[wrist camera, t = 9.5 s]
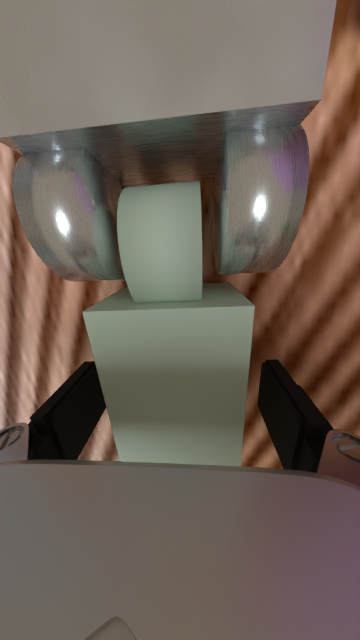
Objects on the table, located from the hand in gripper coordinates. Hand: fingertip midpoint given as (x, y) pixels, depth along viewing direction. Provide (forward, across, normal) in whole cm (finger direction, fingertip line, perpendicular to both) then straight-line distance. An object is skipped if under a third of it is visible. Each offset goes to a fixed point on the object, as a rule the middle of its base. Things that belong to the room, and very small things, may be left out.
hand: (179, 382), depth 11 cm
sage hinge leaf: (+3, 0, -2) cm, 4 cm away
